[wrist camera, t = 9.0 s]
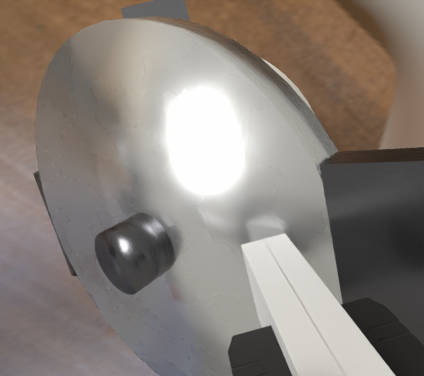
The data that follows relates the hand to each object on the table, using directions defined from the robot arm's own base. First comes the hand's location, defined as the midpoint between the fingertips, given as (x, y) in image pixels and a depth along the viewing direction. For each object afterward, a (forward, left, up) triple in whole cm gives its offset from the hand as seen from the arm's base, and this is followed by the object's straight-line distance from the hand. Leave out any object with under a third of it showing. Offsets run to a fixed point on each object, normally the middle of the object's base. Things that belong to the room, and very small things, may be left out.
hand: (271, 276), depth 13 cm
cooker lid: (-2, -1, -6) cm, 7 cm away
